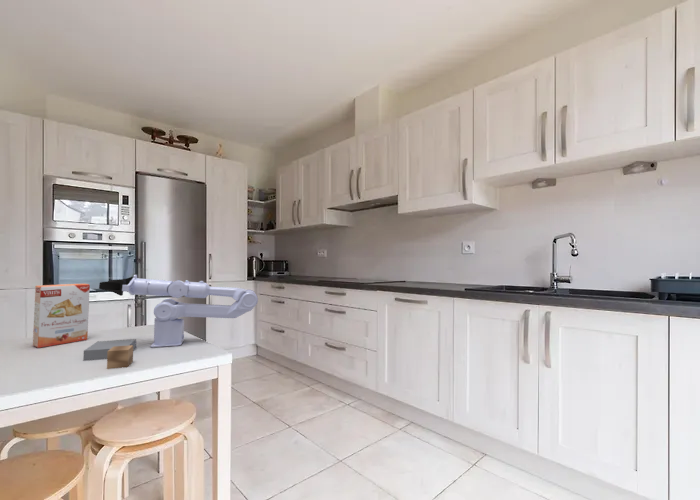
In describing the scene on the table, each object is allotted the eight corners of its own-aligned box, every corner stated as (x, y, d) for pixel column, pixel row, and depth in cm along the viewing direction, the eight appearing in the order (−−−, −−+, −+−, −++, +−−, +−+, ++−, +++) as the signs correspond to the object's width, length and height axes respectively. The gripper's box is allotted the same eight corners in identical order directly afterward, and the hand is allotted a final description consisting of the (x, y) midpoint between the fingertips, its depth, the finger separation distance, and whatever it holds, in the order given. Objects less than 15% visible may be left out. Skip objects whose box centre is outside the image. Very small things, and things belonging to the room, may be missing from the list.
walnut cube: (132, 361, 98) (133, 345, 98) (127, 367, 94) (128, 349, 94) (113, 363, 97) (113, 346, 97) (106, 369, 92) (107, 351, 92)
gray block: (136, 349, 112) (136, 338, 112) (126, 358, 102) (126, 347, 102) (97, 351, 109) (97, 341, 109) (83, 362, 98) (83, 350, 98)
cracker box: (38, 348, 110) (40, 286, 110) (32, 346, 113) (34, 285, 113) (88, 340, 121) (90, 283, 122) (81, 337, 125) (83, 282, 125)
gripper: (155, 274, 123) (112, 271, 119) (145, 277, 109) (97, 273, 105) (153, 293, 123) (110, 291, 118) (143, 298, 109) (94, 295, 105)
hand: (103, 284), depth 111 cm, fingers open, 7 cm apart
